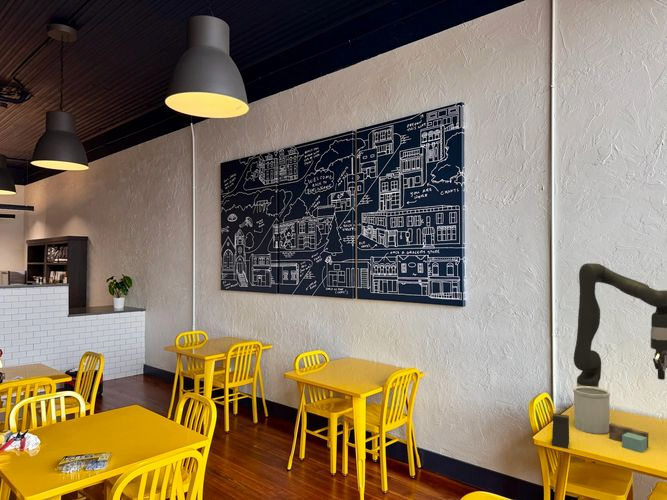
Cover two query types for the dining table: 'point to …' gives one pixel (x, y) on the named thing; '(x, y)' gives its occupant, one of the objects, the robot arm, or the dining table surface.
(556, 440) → the phone stand
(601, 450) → the dining table surface
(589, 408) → the utensil holder
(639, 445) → the teal block
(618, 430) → the walnut board
